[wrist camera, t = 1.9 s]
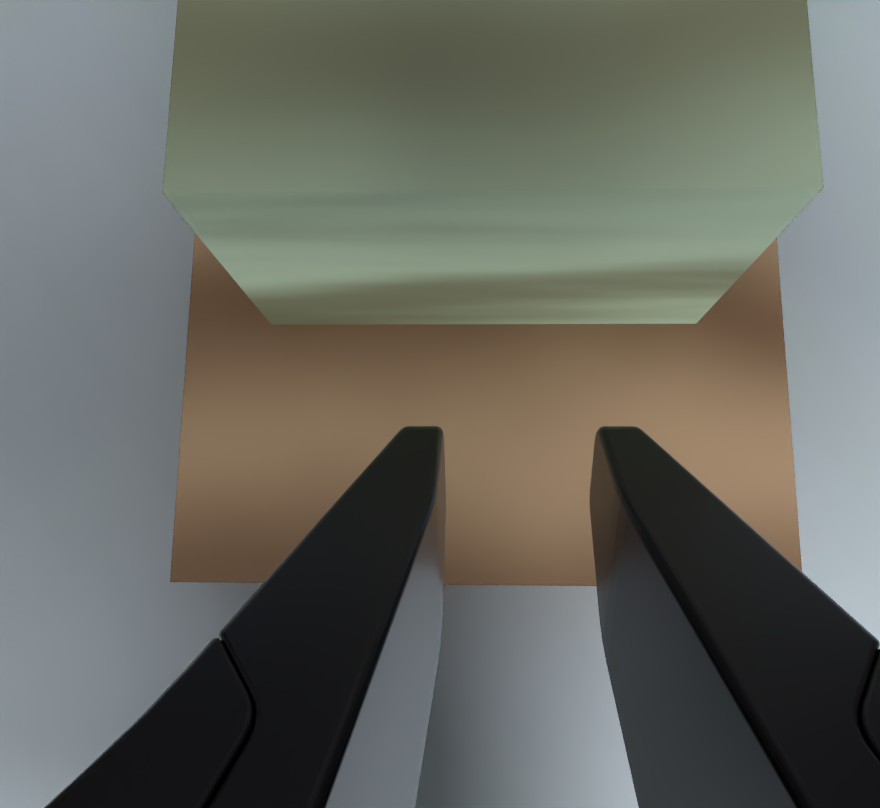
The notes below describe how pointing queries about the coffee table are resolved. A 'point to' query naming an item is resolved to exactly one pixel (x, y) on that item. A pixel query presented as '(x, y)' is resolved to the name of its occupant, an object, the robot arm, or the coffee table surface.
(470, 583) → the tan square tile
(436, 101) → the block
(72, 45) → the coffee table surface
